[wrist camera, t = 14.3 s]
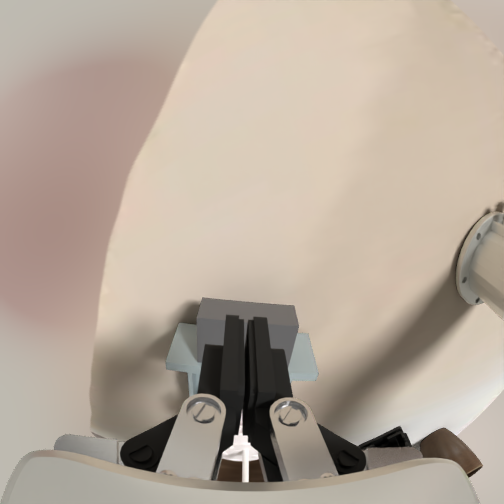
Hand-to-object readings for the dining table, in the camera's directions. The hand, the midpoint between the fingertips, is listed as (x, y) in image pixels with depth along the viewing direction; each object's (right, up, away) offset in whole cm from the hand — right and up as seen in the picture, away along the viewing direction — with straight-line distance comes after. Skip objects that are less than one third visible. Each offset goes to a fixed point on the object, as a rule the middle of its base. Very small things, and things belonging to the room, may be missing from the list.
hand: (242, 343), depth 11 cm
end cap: (+26, -34, +30) cm, 52 cm away
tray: (-1, -8, +18) cm, 20 cm away
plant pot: (+44, -40, +32) cm, 68 cm away
